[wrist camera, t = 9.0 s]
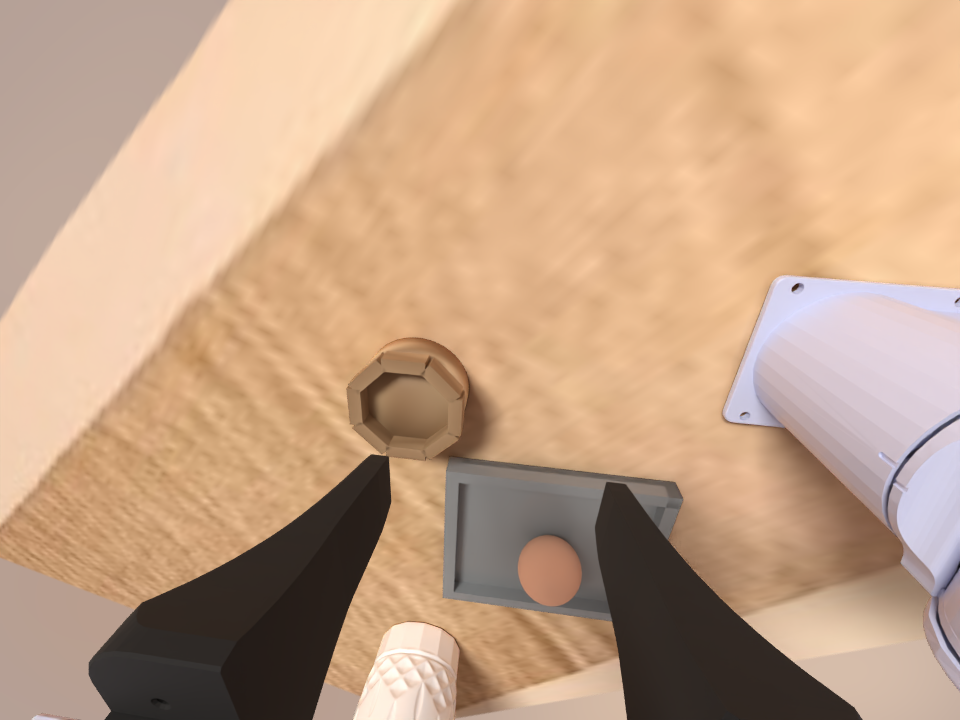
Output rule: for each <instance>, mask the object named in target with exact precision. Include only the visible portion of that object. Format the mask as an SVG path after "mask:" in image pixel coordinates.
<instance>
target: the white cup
mask: <svg viewBox="0 0 960 720" xmlns="http://www.w3.org/2000/svg"><path fill="white" fill-rule="evenodd" d="M458 660H459V647H458V645H457V643H456V641H455V639H454V638H453V637H452V636H451V635H449V634H448V633H447V632H445V631H444V630H443V629H441V628H438V627H436V626H433V625H430V624H427V623H421V622H405V623H401V624H397V625H394V626H392V627H391V628H390V629H389V630H388V631H387V632H386V633H385V634H384V636H383V639H382V642H381V645H380V648H379V651H378V654H377V657H376V660H375V663H374V666H373V668H372V670H371V672H370V674H369V676H368V678H367V681H366V684H365V687H364V690H363V693H362V695H361V697H360V700H359V702H358V705H357V708H356V711H355V713H354V716H353V719H352V720H454V719H455V708H456V695H457V690H456V681H457V670H458Z"/></svg>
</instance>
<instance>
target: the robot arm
mask: <svg viewBox="0 0 960 720" xmlns="http://www.w3.org/2000/svg"><path fill="white" fill-rule="evenodd" d="M797 283H799V287H798V288H797V290H795V291H793V292H792V291H791V290H792V287H793V286H794V285H795V284H797ZM959 297H960V289H956V288H944V287H931V286H918V285H905V284H893V283H880V282H867V281H854V280H841V279H829V278H816V277H803V276H790V275H783V276H780V277H777V278H776V279H775V280H774V281H773V282H772V284H771V286H770V289H769V291H768V294H767V296H766V299H765V302H764V304H763V307H762V310H761V312H760V315H759V317H758V320H757V323H756V325H755V328H754V330H753V333H752V336H751V338H750V341H749V343H748V346H747V349H746V351H745V354H744V357H743V359H742V362H741V364H740V367H739V370H738V372H737V375H736V377H735V380H734V383H733V385H732V388H731V390H730V393H729V396H728V398H727V401H726V404H725V406H724V409H723V413H722V414H723V416H724V418H725V419H726V420H727V421H729V422H734V423H743V424H753V425H763V426H772V427H782V428H787V429H788V430H789V431H790V432H791V433H792V434H793V435H794V436H795V437H796V438H797V439H798V440H799V441H800V442H801V443H802V444H803V445H804V446H805V447H806V448H807V449H808V450H809V451H810V452H811V453H812V454H813V455H814V456H815V457H816V458H817V459H818V460H819V461H820V462H821V463H822V464H823V465H824V466H825V467H826V468H827V469H828V470H829V471H830V472H831V473H832V474H833V475H834V476H835V477H836V478H837V479H839V480H840V481H841V482H842V483H843V484H844V485H845V486H846V487H847V488H848V489H849V490H850V491H851V492H852V493H853V494H854V495H855V496H856V497H857V498H858V499H859V500H860V501H861V502H862V503H863V504H864V505H865V506H866V507H867V508H868V509H869V510H870V511H871V512H872V513H873V514H874V515H875V516H876V517H877V518H878V519H879V520H880V521H881V522H882V523H883V524H884V525H885V526H886V527H887V528H888V529H889V530H890V531H891V532H892V533H893V534H894V535H895V536H897V537H898V538H899V540H900V541H901V543H902V545H903V549H904V554H903V557H902V560H901V564H902V565H903V567H904V568H905V569H906V570H907V571H908V572H909V573H910V574H911V575H912V576H913V577H914V578H915V579H916V580H917V581H918V582H919V583H920V584H921V585H922V586H923V587H924V588H925V590H926V591H927V592H928V593H929V594H930V595H931V597H930V599H929V601H928V602H927V605H926V607H925V609H924V616H923V627H924V631H925V635H926V639H927V641H928V644H929V646H930V648H931V650H932V652H933V654H934V656H935V658H936V660H937V661H938V663H939V664H940V666H941V667H942V669H943V670H944V672H945V673H946V675H947V676H948V678H949V679H950V680H951V681H952V683H953V684H954V685H955V686H956V687H957V689H958V690H959V691H960V299H959V301H958V302H957V303H955V301H956V300H957V299H958V298H959ZM954 303H955V304H954ZM743 412H746V414H745V415H743V416H740V415H741V413H743ZM390 504H391V488H390V469H389V456H381V455H372V454H371V455H370V456H368V457H367V458H366V459H365V460H364V461H363V462H362V463H361V464H360V465H359V466H358V467H357V468H356V469H354V470H353V471H352V472H351V473H350V474H349V475H348V476H347V477H346V478H345V479H344V480H343V481H341V482H340V483H339V484H338V485H337V486H336V487H335V488H333V489H332V490H331V491H330V492H329V493H328V494H327V495H325V496H324V497H323V498H322V499H321V500H319V501H318V502H317V503H316V504H314V505H313V506H312V507H311V508H309V509H308V510H307V511H306V512H304V513H303V514H302V515H301V516H299V517H298V518H297V519H295V520H294V521H293V522H291V523H290V524H288V525H287V526H286V527H284V528H283V529H281V530H280V531H278V532H277V533H275V534H274V535H272V536H271V537H269V538H268V539H266V540H265V541H263V542H261V543H260V544H258V545H256V546H255V547H253V548H251V549H250V550H248V551H246V552H245V553H243V554H241V555H240V556H238V557H236V558H235V559H233V560H231V561H229V562H227V563H225V564H223V565H222V566H220V567H218V568H216V569H214V570H212V571H210V572H208V573H206V574H204V575H202V576H200V577H198V578H196V579H194V580H192V581H190V582H188V583H186V584H183V585H181V586H179V587H177V588H174V589H172V590H170V591H168V592H165V593H163V594H161V595H159V596H156V597H154V598H152V599H150V600H147V601H145V602H142V603H141V604H140V605H139V606H138V607H137V608H136V609H135V611H134V612H133V613H132V614H131V615H130V616H129V617H128V618H127V619H126V620H125V621H124V622H123V624H122V625H121V626H120V627H119V628H118V629H117V630H116V632H115V633H114V634H113V635H112V636H111V637H110V638H109V640H108V641H107V642H106V643H105V644H104V645H103V646H102V647H101V649H100V650H99V651H98V652H97V653H96V654H95V655H94V656H93V658H92V659H91V660H90V662H89V676H90V679H91V681H92V683H93V684H94V686H95V687H96V689H97V690H98V692H99V693H100V695H101V696H102V698H103V699H104V701H105V702H106V704H107V705H108V707H109V708H110V710H111V712H110V713H109V715H108V716H107V717H106V719H105V720H312V719H313V715H314V713H315V709H316V706H317V702H318V699H319V696H320V693H321V690H322V686H323V683H324V680H325V677H326V674H327V671H328V668H329V665H330V661H331V658H332V655H333V652H334V649H335V646H336V643H337V640H338V637H339V634H340V631H341V628H342V625H343V623H344V620H345V617H346V614H347V611H348V608H349V606H350V603H351V601H352V598H353V596H354V594H355V591H356V589H357V587H358V585H359V582H360V580H361V578H362V576H363V573H364V571H365V569H366V567H367V565H368V562H369V560H370V558H371V556H372V553H373V551H374V549H375V547H376V544H377V542H378V540H379V537H380V535H381V533H382V530H383V527H384V524H385V521H386V518H387V514H388V511H389V508H390ZM595 536H596V546H597V554H598V561H599V566H600V570H601V575H602V579H603V583H604V588H605V592H606V596H607V601H608V605H609V610H610V614H611V618H612V623H613V627H614V631H615V636H616V641H617V647H618V653H619V660H620V667H621V675H622V682H623V690H624V697H625V705H626V713H627V720H862V718H861V717H860V715H859V714H858V712H857V711H856V710H855V708H854V707H853V706H851V705H850V704H849V703H847V702H846V701H845V700H843V699H842V698H841V697H839V696H838V695H836V694H835V693H834V692H832V691H831V690H830V689H828V688H827V687H826V686H824V685H823V684H822V683H820V682H819V681H817V680H816V679H815V678H813V677H812V676H811V675H809V674H808V673H807V672H805V671H804V670H803V669H801V668H800V667H799V666H798V665H796V664H795V663H794V662H793V661H791V660H790V659H789V658H788V657H786V656H785V655H784V654H783V653H781V652H780V651H779V650H778V649H776V648H775V647H774V646H773V645H772V644H770V643H769V642H768V641H767V640H766V639H764V638H763V637H762V636H761V635H760V634H759V633H757V632H756V631H755V630H754V629H753V628H752V627H751V626H750V625H748V624H747V623H746V622H745V621H744V620H743V619H742V618H741V617H740V616H739V615H737V614H736V613H735V612H734V611H733V610H732V609H731V608H730V607H729V606H728V605H727V604H726V603H725V602H724V601H723V600H721V599H720V598H719V597H718V596H717V594H716V593H715V592H714V591H713V590H712V589H711V588H710V587H709V586H708V585H707V584H706V583H705V582H704V581H703V580H702V579H701V578H700V577H699V576H698V575H697V574H696V573H695V572H694V571H693V570H692V568H691V567H690V566H689V565H688V564H687V563H686V562H685V560H684V559H683V558H682V557H681V556H680V555H679V553H678V552H677V551H676V550H675V549H674V547H673V546H672V545H671V544H670V542H669V541H668V540H667V539H666V537H665V536H664V535H663V534H662V532H661V531H660V530H659V528H658V527H657V526H656V525H655V523H654V522H653V521H652V519H651V518H650V517H649V515H648V514H647V512H646V511H645V510H644V508H643V507H642V506H641V504H640V503H639V501H638V500H637V499H636V497H635V496H634V495H633V493H632V492H631V490H630V489H629V488H628V486H627V485H626V484H623V483H614V482H606V485H605V489H604V493H603V497H602V500H601V504H600V508H599V512H598V516H597V520H596V524H595ZM32 720H78V719H73V718H67V717H61V716H55V715H50V714H44V713H41V714H38V715H36V716H35V717H34V718H33V719H32Z"/></svg>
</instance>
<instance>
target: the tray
mask: <svg viewBox="0 0 960 720" xmlns="http://www.w3.org/2000/svg"><path fill="white" fill-rule="evenodd" d="M606 482H614V483H623V484H626V485H627V486H628V488H629V489H630V490H631V492H632V493H633V495H634V496H635V497H636V499H637V500H638V501H639V503H640V504H641V506H642V507H643V508H644V510H645V511H646V512H647V514H648V515H649V517H650V518H651V519H652V521H653V522H654V523H655V525H656V526H657V527H658V528H659V530H660V531H661V532H662V534H663V535H664V536H665V537H666V539H667V540H668V539H669V536H670V533H671V531H672V528H673V525H674V523H675V520H676V517H677V515H678V512H679V509H680V507H681V504H682V501H683V497H682V495H681V493H680V491H679V489H678V487H677V485H676V483H675V482H669V481H660V480H651V479H642V478H634V477H625V476H616V475H608V474H599V473H590V472H581V471H573V470H564V469H555V468H547V467H538V466H529V465H520V464H512V463H503V462H494V461H485V460H477V459H468V458H459V457H451V456H450V458H449V462H448V466H447V470H446V492H445V530H444V568H443V598H448V599H455V600H462V601H470V602H477V603H484V604H491V605H498V606H505V607H513V608H520V609H527V610H534V611H541V612H548V613H556V614H563V615H570V616H577V617H584V618H591V619H599V620H606V621H612V618H611V614H610V610H609V605H608V601H607V596H606V592H605V588H604V583H603V579H602V575H601V570H600V566H599V561H598V554H597V546H596V536H595V524H596V520H597V516H598V512H599V508H600V504H601V500H602V497H603V493H604V489H605V485H606ZM542 535H552V536H557V537H559V538H561V539H563V540H565V541H566V542H567V543H568V544H570V545H571V546H572V548H573V549H574V550H575V552H576V554H577V555H578V557H579V560H580V563H581V569H582V578H581V583H580V587H579V589H578V591H577V593H576V594H575V596H574V597H573V598H572V599H571V600H570V601H568V602H566V603H565V604H562V605H559V606H546V605H542V604H540V603H538V602H536V601H534V600H533V599H532V598H531V597H530V596H529V595H528V594H527V593H526V592H525V590H524V589H523V587H522V585H521V582H520V579H519V575H518V561H519V556H520V554H521V552H522V550H523V548H524V547H525V545H526V544H527V543H528V542H529V541H531V540H532V539H534V538H536V537H538V536H542Z"/></svg>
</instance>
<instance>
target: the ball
mask: <svg viewBox="0 0 960 720" xmlns="http://www.w3.org/2000/svg"><path fill="white" fill-rule="evenodd" d="M518 575H519V579H520V582H521V585H522V587H523V589H524V590H525V592H526V593H527V594H528V595H529V596H530V597H531V598H532V599H533V600H534V601H536V602H538V603H540V604H542V605H546V606H559V605H562V604H565V603H566V602H568V601H570V600H571V599H572V598H573V597H574V596H575V594H576V593H577V591H578V589H579V587H580V583H581V578H582V569H581V563H580V560H579V557H578V555H577V554H576V552H575V550H574V549H573V548H572V546H571V545H570V544H568V543H567V542H566V541H565V540H563V539H561V538H559V537H557V536H552V535H542V536H538V537H536V538H534V539H532V540H531V541H529V542H528V543H527V544H526V545H525V547H524V548H523V550H522V552H521V554H520V556H519V561H518Z"/></svg>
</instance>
